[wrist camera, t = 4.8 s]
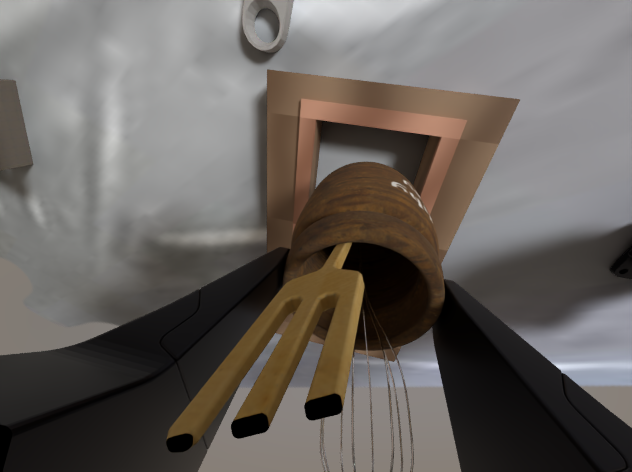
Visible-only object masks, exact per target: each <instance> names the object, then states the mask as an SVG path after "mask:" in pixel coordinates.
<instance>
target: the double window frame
mask: <svg viewBox="0 0 632 472" xmlns="http://www.w3.org/2000/svg"><path fill="white" fill-rule="evenodd" d="M519 101H520V99H512V98H504V97H495V96H487V95H478V94H470V93H461V92H453V91H444V90H436V89H427V88H419V87H410V86H402V85H393V84H385V83H376V82H368V81H359V80H351V79H343V78H334V77H326V76H317V75H309V74H300V73H292V72H283V71H275V70H267V253H269V252H270V251H272V250H274V249H276V248H278V247H285V248H289V249H291V240H292V235H293V230H294V228H295V225H296V222H297V220H298V218H299V216H300V214H301V212H302V210H303V208H304V207H305V205H306V203H307V202H308V200H309V198H310V197H311V195H312V194H313V192H314V191H315V186H316V177H317V168H318V159H319V150H320V141H321V132H322V123H323V121H331V122H338V123H345V124H352V125H360V126H367V127H374V128H381V129H388V130H396V131H403V132H410V133H417V134H425V135H430V136H429V139H428V142H427V145H426V148H425V151H424V154H423V157H422V160H421V163H420V166H419V169H418V172H417V175H416V178H415V181H414V184H413V187H414V188H415V189H416V191H417V193H418V194H419V196H420V198H421V200H422V201H423V203H424V205H425V207H426V209H427V211H428V213H429V215H430V217H431V219H432V222H433V224H434V227H435V230H436V233H437V237H438V243H439V260H440V263H442V261H443V259H444V257H445V255H446V253H447V251H448V249H449V246H450V244H451V242H452V240H453V238H454V236H455V234H456V232H457V230H458V228H459V226H460V224H461V222H462V219H463V217H464V215H465V213H466V211H467V209H468V207H469V205H470V203H471V201H472V199H473V197H474V195H475V192H476V190H477V188H478V186H479V184H480V182H481V180H482V178H483V176H484V174H485V172H486V170H487V167H488V165H489V163H490V161H491V159H492V157H493V155H494V153H495V151H496V149H497V147H498V145H499V143H500V140H501V138H502V136H503V134H504V132H505V130H506V128H507V126H508V124H509V122H510V120H511V118H512V116H513V113H514V111H515V109H516V107H517V105H518V103H519ZM292 318H293V314H292V313H291V314H290V315H288V316H287V317H286V319H285V320H284V321H283V323H282V324H281V326H280V327H279V329H278V330H277V331H276V333H278V334H282V335H283V333H284V332H285V330H286V328H287V326H288V325H289V323H290V321H291V319H292ZM309 341H311V342H315V343H319V344H323V345H324V342H325V341H324V340H322V339H321V338H319V337H317V336H315V335H314V334H312V336H311V338H310V340H309ZM400 348H401V346H400V347H396V348H393V350H394V352H395V354H396V356H397V354H398V352H399V350H400ZM384 351H385V353H386V356H387V359H388V360H389V361H393V362H394V361H395V359H396V358H395V356H394V353H393V351H392V349H387V350H384ZM355 352H356V353H360V354H364V355H367V352H366V351H362V350H355ZM368 356H372V357H377V358H381V359H384V356H383V352H382V350H379V351H368Z"/></svg>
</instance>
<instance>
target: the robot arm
mask: <svg viewBox="0 0 632 472" xmlns="http://www.w3.org/2000/svg"><path fill="white" fill-rule="evenodd" d="M289 251H290V249H289V248H285V247H278V248H276V249H274V250H272V251H270V252H269V253H267V254H265V255H263V256H261V257H259V258H257V259H255V260H253V261H251V262H250V263H248V264H246V265H244V266H242V267H240V268H238V269H236V270H234V271H232V272H231V273H229V274H227V275H225V276H223V277H221V278H219V279H217V280H215V281H214V282H212V283H210V284H208V285H206V286H204V287H202V288H201V289H200V290H196V291H194V292H192V293H191V294H189V295H187V296H185V297H183V298H181V299H179V300H177V301H175V302H173V303H171V304H169V305H167V306H164V307H162V308H160V309H158V310H156V311H153V312H151V313H149V314H147V315H145V316H142V317H140V318H138V319H135V320H133V321H131V322H129V323H126V324H124V325H122V326H119V327H117V328H115V329H113V330H110V331H108V332H106V333H104V334H101V335H99V336H97V337H94V338H92V339H90V340H87V341H85V342H82V343H78V344H75V345H72V346H69V347H65V348H60V349H55V350H49V351H41V352H31V353H20V354H11V355H0V472H198V470H199V468H200V466H201V464H202V461H203V459H204V457H205V455H206V453H207V449H208V448H209V447H210V445H211V443H212V441H213V439H214V436H215V434H216V432H217V430H218V428H219V426H220V424H221V422H222V420H223V418H224V416H225V414H226V412H227V410H228V408H229V406H230V403H231V401H232V399H233V397H234V395H235V393H236V391H237V389H238V387H239V385H240V384H239V385H238V386H237V388H236V389H235V391H234V392H233V394H232V395H231V396H230V398H229V399H228V401H227V402H226V403H225V405H224V406H223V408H222V409H221V410H220V412H219V413H218V415H217V416H216V418H215V419H214V420H213V422H212V423H211V425H210V426H209V427H208V429H207V430H206V432H205V433H204V434H203V436H202V437H201V439H200V440H199V442H198V443H197V444H195V445H194V446H193V447H191V448H190V449H188V450H187V451H185V452H178V453H173V452H170V451H169V450H168V448H167V445H166V440H167V435H168V431H169V429H170V427H171V426H172V425H173V424H174V422H175V421H176V420H177V419H178V417H179V416H180V415H181V414H182V412H183V411H184V410H185V409H186V407H187V406H188V405H189V404H190V402H191V401H192V400H193V399H194V397H195V396H196V395H197V394H198V392H199V391H200V390H201V389H202V387H203V386H204V385H205V384H206V382H207V381H208V380H209V379H210V377H211V376H212V375H213V374H214V372H215V371H216V370H217V369H218V367H219V366H220V365H221V364H222V362H223V361H224V360H225V359H226V357H227V356H228V355H229V354H230V352H231V351H232V350H233V349H234V347H235V346H236V345H237V344H238V342H239V341H240V340H241V339H242V337H243V336H244V335H245V333H246V332H247V331H248V330H249V328H250V327H251V326H252V325H253V323H254V322H255V321H256V320H257V318H258V317H259V316H260V315H261V313H262V312H263V311H264V310H265V308H266V307H267V306H268V305H269V303H270V302H271V301H272V300H273V298H274V297H275V296H276V295H277V293H278V292H279V291H280V290H281V289H282V288H283V286H282V283H283V273H284V268H285V264H286V259H287V256H288V253H289ZM610 271H611V272H612V273H613V274H614V275H616V276H618V277H624V278H629V279H632V246H631V247H630V248H629V249H628V250H627V251H626V252H625V253H624V254H623V255H622V256H621V257H620V259H619V260H618V261H617V262H616V263H615V264H614V265H613V266H612V267H611V268H610ZM444 288H445V299H444V305H443V309H442V311H441V314H440V316H439V318H438V319H437V321H436V322H435V324H434V325H433V326H432V328H433V339H434V346H435V351H436V356H437V360H438V365H439V370H440V374H441V379H442V384H443V388H444V393H445V398H446V402H447V407H448V412H449V416H450V421H451V426H452V430H453V435H454V440H455V444H456V449H457V453H458V458H459V463H460V468H461V472H632V428H631V427H630V426H628V425H627V424H626V423H625V422H623V421H622V420H621V419H619V418H618V417H617V416H616V415H614V414H613V413H612V412H610V411H609V410H608V409H606V408H605V407H604V406H603V405H602V404H601V403H599V402H598V401H597V400H596V399H594V398H593V397H592V396H591V395H590V394H588V393H587V392H586V391H585V390H583V389H582V388H581V387H580V386H579V385H577V384H576V383H575V382H574V381H573V380H571V379H570V378H569V377H568V376H567V375H566V374H564V373H561V370H559V369H558V368H557V367H556V366H555V365H553V364H552V363H551V362H550V361H549V360H547V359H546V358H545V357H544V356H543V355H542V354H540V353H539V352H538V351H537V350H536V349H534V348H533V347H532V346H531V345H530V344H528V343H527V342H526V341H525V340H524V339H522V338H521V337H520V336H519V335H518V334H516V333H515V332H514V331H513V330H512V329H510V328H509V327H508V326H507V325H506V324H504V323H503V322H502V321H501V320H500V319H498V318H497V317H496V316H495V315H494V314H492V313H491V312H490V311H489V310H488V309H486V308H485V307H484V306H483V305H482V304H480V303H479V302H478V301H477V300H476V299H474V298H473V297H472V296H471V295H470V294H468V293H467V292H466V291H465V290H464V289H463V288H461V287H460V286H459V285H458V284H457V283H455V282H454V281H451V280H446V279H444ZM240 383H241V382H240Z"/></svg>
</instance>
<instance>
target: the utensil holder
mask: <svg viewBox="0 0 632 472" xmlns="http://www.w3.org/2000/svg"><path fill="white" fill-rule="evenodd" d="M282 286H283V288H282V289H281V290H280V291H279V292H278V293H277V295H276V296H275V297H274V298H273V300H272V301H271V302H270V303H269V305H268V306H267V307H266V308H265V310H264V311H263V312H262V313H261V315H260V316H259V317H258V318H257V320H256V321H255V322H254V323H253V325H252V326H251V327H250V328H249V330H248V331H247V332H246V333H245V335H244V336H243V337H242V339H241V340H240V341H239V342H238V344H237V345H236V346H235V347H234V349H233V350H232V351H231V352H230V354H229V355H228V356H227V357H226V359H225V360H224V361H223V362H222V364H221V365H220V366H219V367H218V369H217V370H216V371H215V372H214V374H213V375H212V376H211V377H210V379H209V380H208V381H207V382H206V384H205V385H204V386H203V387H202V389H201V390H200V391H199V392H198V394H197V395H196V396H195V397H194V399H193V400H192V401H191V402H190V404H189V405H188V406H187V407H186V409H185V410H184V411H183V412H182V414H181V415H180V416H179V417H178V419H177V420H176V421H175V422H174V424H173V425H172V426H171V427H170V429H169V431H168V435H167V440H166V445H167V448H168V450H169V451H170V452H173V453H178V452H185V451H187V450H188V449H190V448H191V447H193V446H194V445H195V444H197V443H198V442H199V440H200V439H201V437H202V436H203V434H204V433H205V432H206V430H207V429H208V427H209V426H210V425H211V423H212V422H213V420H214V419H215V418H216V416H217V415H218V413H219V412H220V410H221V409H222V408H223V406H224V405H225V403H226V402H227V401H228V399H229V398H230V396H231V395H232V394H233V392H234V391H235V389H236V388H237V386H238V385H239V384H240V382H241V381H242V379H243V378H244V377H245V375H246V374H247V372H248V371H249V370H250V368H251V367H252V365H253V364H254V362H255V361H256V360H257V358H258V357H259V355H260V354H261V353H262V351H263V350H264V348H265V347H266V346H267V344H268V343H269V341H270V340H271V338H272V337H273V336H274V334H275V333H276V331H277V330H278V329H279V327H280V326H281V324H282V323H283V321H284V320H285V319H286V317H287V316H288V315H290V314H291V313H292V314H293V318H292V319H291V321H290V323H289V325H288V326H287V328H286V330H285V332H284V333H283V335H282V337H281V339H280V340H279V342H278V344H277V346H276V347H275V349H274V351H273V352H272V354H271V356H270V358H269V359H268V361H267V363H266V365H265V366H264V368H263V370H262V372H261V373H260V375H259V377H258V379H257V380H256V382H255V384H254V386H253V387H252V389H251V391H250V393H249V394H248V396H247V398H246V400H245V402H244V403H243V405H242V406H241V408H240V410H239V412H238V414H237V415H236V417H235V419H234V421H233V422H232V424H231V430H232V434H233V436H234V437H235V438H244V437H248V436H252V435H256V434H260V433H264V432H266V431H267V430H268V428H269V426H270V424H271V422H272V420H273V418H274V416H275V413H276V411H277V409H278V407H279V405H280V403H281V400H282V398H283V396H284V394H285V392H286V390H287V388H288V385H289V383H290V381H291V379H292V377H293V375H294V372H295V370H296V368H297V366H298V364H299V362H300V359H301V357H302V355H303V353H304V351H305V349H306V347H307V344H308V342H309V340H310V338H311V336H312V334H314V335H315V336H317V337H319V338H321V339H322V340H324V341H325V342H324V346H323V349H322V352H321V355H320V358H319V361H318V365H317V368H316V371H315V374H314V377H313V380H312V384H311V387H310V390H309V394H308V396H307V399H306V403H305V406H304V408H305V413H306V417H307V418H308V419H309V420H317V419H321V427H320V455H321V462H322V466H323V470H324V472H326V470H325V467H324V462H323V457H322V447H323V455H324V460H325V464H326V468H327V472H330V471H329V468H328V464H327V460H326V455H325V448H324V418H325V417H329V416H334V415H337V414H340V413H341V441H340V457H341V470H342V472H343V463H342V421H343V405H344V399H345V393H346V388H347V382H348V377H349V371H350V365H351V360H352V354H353V360H352V459H353V472H356V469H355V457H354V423H353V422H354V414H353V413H354V354H355V350H362V351H366V352H367V363H368V375H369V389H370V410H371V438H372V439H371V441H372V472H374V457H373V424H372V401H371V383H370V370H369V359H368V351H379V350H382V352H383V356H384V361H385V366H386V374H387V382H388V393H389V406H390V421H391V440H392V455H391V466H390V472H392V469H393V459H394V437H393V421H392V407H391V394H390V384H389V375H388V368H387V364H388V367H389V370H390V374H391V378H392V382H393V386H394V391H395V397H396V405H397V413H398V424H399V436H400V449H401V472H402V471H403V454H402V439H401V428H400V417H399V408H398V401H397V394H396V389H395V384H394V379H393V376H392V372H391V369H390V365H389V362H388V359H387V356H386V353H385V351H384V350H387V349H392V351H393V353H394V356H395V358H396V360H397V363H398V366H399V369H400V372H401V375H402V379H403V384H404V389H405V394H406V401H407V409H408V418H409V428H410V437H411V453H412V459H411V470H410V472H412V470H413V463H414V452H413V438H412V428H411V419H410V411H409V403H408V396H407V390H406V385H405V380H404V377H403V373H402V370H401V367H400V364H399V361H398V359H397V356H396V354H395V352H394V350H393V348H396V347H400V346H403V345H406V344H408V343H410V342H412V341H414V340H416V339H418V338H419V337H421V336H422V335H424V334H425V333H426V332H427V331H428V330H429V329H430V328H431V327H432V326H433V325H434V324H435V322H436V321H437V319H438V318H439V316H440V314H441V311H442V309H443V305H444V299H445V288H444V277H443V271H442V266H441V263H440V260H439V243H438V237H437V233H436V230H435V227H434V224H433V222H432V219H431V217H430V215H429V213H428V211H427V209H426V207H425V205H424V203H423V201H422V200H421V198H420V196H419V194H418V193H417V191H416V189H415V188H414V187H413V185H412V184H411V183H410V182H409V180H408V179H407V178H406V177H405V176H403V175H402V174H401V173H399V172H398V171H396V170H395V169H393V168H391V167H389V166H386V165H384V164H380V163H375V162H357V163H352V164H348V165H345V166H343V167H341V168H339V169H337V170H335V171H333V172H332V173H331V174H329V175H328V176H327V177H326V178H325V179H324V180H323V181H322V182H321V183H320V184H319V185H318V186H317V188H316V189H315V191H314V192H313V194H312V195H311V197H310V198H309V200H308V202H307V203H306V205H305V207H304V208H303V210H302V212H301V214H300V216H299V218H298V220H297V222H296V225H295V228H294V230H293V235H292V240H291V249H290V251H289V253H288V256H287V259H286V264H285V268H284V273H283V283H282ZM386 360H387V362H386ZM322 420H323V421H322ZM321 443H322V444H321Z"/></svg>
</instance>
